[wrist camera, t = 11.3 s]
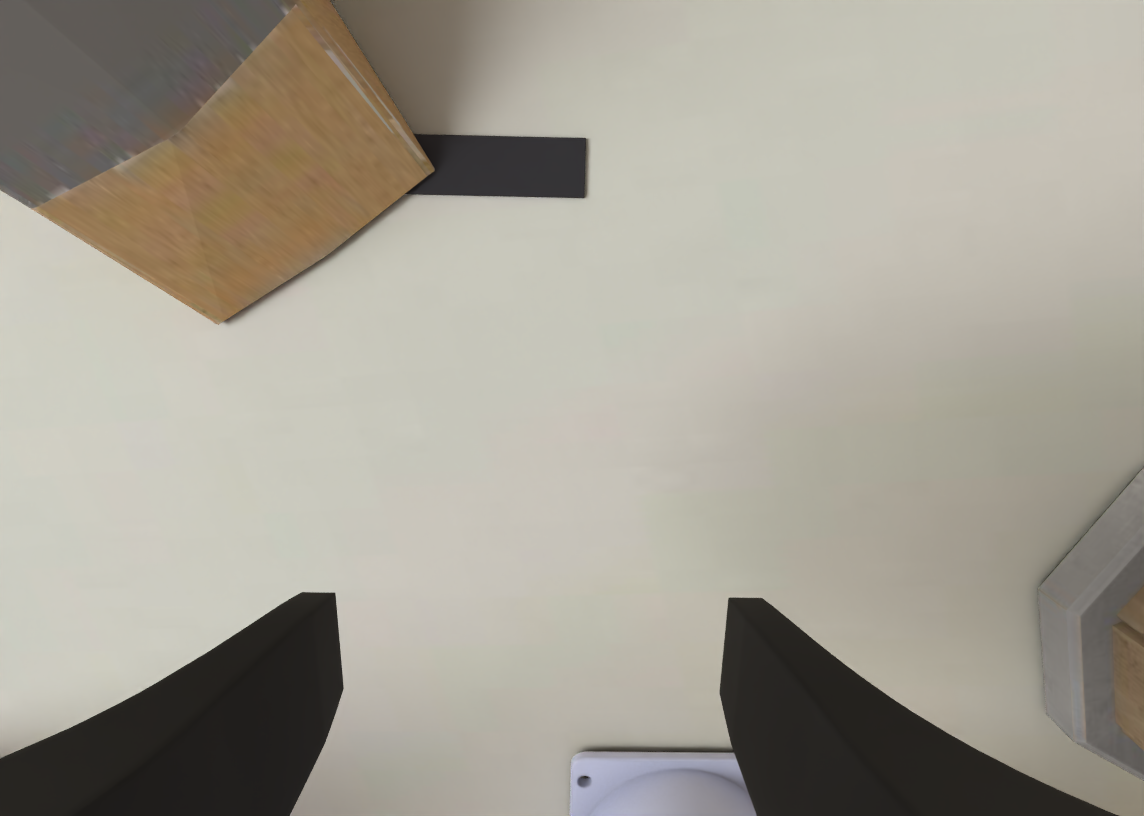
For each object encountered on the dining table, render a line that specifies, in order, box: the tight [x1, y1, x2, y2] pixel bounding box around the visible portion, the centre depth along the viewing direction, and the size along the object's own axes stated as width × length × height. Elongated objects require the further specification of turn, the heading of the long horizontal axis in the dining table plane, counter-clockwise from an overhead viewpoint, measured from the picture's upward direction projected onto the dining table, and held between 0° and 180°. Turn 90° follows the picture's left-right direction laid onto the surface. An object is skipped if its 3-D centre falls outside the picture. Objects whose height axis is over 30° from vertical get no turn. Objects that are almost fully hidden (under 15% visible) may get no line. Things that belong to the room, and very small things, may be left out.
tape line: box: [405, 134, 586, 198], centre depth 18 cm, size 2×24×1 cm, turn 89°
